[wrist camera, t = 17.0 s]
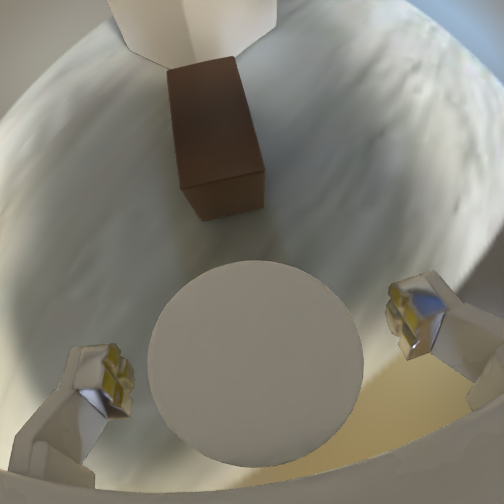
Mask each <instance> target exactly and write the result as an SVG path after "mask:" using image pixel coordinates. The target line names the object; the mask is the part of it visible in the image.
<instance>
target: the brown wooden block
mask: <svg viewBox="0 0 504 504" xmlns="http://www.w3.org/2000/svg"><path fill="white" fill-rule="evenodd" d="M167 83H168V93H169V103H170V112H171V121H172V130H173V139H174V147H175V154H176V162H177V169H178V177H179V184H180V189H181V191H182V192H183V194H184V196H185V197H186V199H187V200H188V202H189V203H190V205H191V207H192V208H193V210H194V211H195V213H196V214H197V216H198V217H199V219H200V221H206V220H210V219H215V218H219V217H224V216H228V215H233V214H237V213H242V212H247V211H251V210H256V209H261V208H264V201H265V166H264V162H263V159H262V155H261V151H260V147H259V144H258V140H257V136H256V132H255V129H254V125H253V121H252V118H251V114H250V111H249V107H248V103H247V100H246V96H245V93H244V89H243V86H242V82H241V79H240V75H239V72H238V68H237V65H236V61H235V58H234V56H229V57H223V58H218V59H213V60H208V61H204V62H199V63H195V64H191V65H187V66H182V67H179V68H175V69H171V70H168V71H167Z"/></svg>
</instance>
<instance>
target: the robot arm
mask: <svg viewBox="0 0 504 504" xmlns="http://www.w3.org/2000/svg"><path fill="white" fill-rule="evenodd" d="M388 295H389V296H390V298H391V299H390V300H389V301H388V303H387V304H386V310H385V315H386V321H387V324H388V327H389V329H390V331H391V333H392V334H394V335H396V336H398V337H400V338H399V342H398V345H399V347H400V349H401V351H402V352H403V354H404V356H405V358H406V360H411V359H413V358H416V357H419V356H422V355H425V354H427V353H430V352H431V354H432V355H433V356H435V357H436V358H438V359H439V360H441V361H442V362H444V363H445V364H447V365H448V366H450V367H451V368H453V369H454V370H455V371H457V372H459V373H460V374H461V375H463V376H464V377H466V378H467V379H469V380H470V381H472V382H473V383H474V385H473V386H472V388H471V389H470V390H469V392H468V393H467V396H466V401H467V403H468V404H469V406H470V408H471V410H472V412H470V413H469V414H467V415H465V416H463V417H461V418H459V419H458V420H456V421H454V422H452V423H450V424H448V425H446V426H444V427H442V428H440V429H438V430H436V431H434V432H432V433H429V434H427V435H425V436H423V437H421V438H418V439H416V440H414V441H412V442H409V443H407V444H404V445H402V446H400V447H397V448H395V449H392V450H389V451H387V452H384V453H381V454H379V455H376V456H373V457H370V458H367V459H364V460H361V461H358V462H355V463H352V464H349V465H346V466H343V467H339V468H335V469H332V470H328V471H325V472H321V473H317V474H313V475H309V476H304V477H301V478H295V479H291V480H286V481H281V482H275V483H269V484H264V485H257V486H250V487H244V488H235V489H226V490H215V491H202V492H179V493H147V492H125V491H112V490H102V489H95V474H94V472H93V471H91V470H90V469H88V468H86V467H85V466H83V465H82V464H83V462H84V461H85V459H86V457H87V456H88V454H89V452H90V451H91V449H92V447H93V446H94V444H95V442H96V441H97V439H98V437H99V436H100V434H101V432H102V431H103V429H104V428H105V426H106V424H107V423H108V420H113V419H128V418H131V415H132V405H133V399H132V398H131V396H130V395H129V394H130V393H131V392H132V390H133V389H134V387H135V376H134V370H133V368H132V365H131V364H130V362H129V361H128V359H126V358H124V357H122V356H120V354H121V350H120V348H119V347H118V346H117V344H115V343H109V344H99V345H89V346H82V347H73V348H72V349H71V350H70V352H69V355H68V358H67V361H66V364H65V368H64V371H63V375H62V378H61V382H60V385H59V389H58V390H54V391H53V392H52V393H51V395H50V396H49V397H48V398H47V399H46V400H45V401H44V403H43V404H42V405H41V406H40V407H39V408H38V409H37V411H36V412H35V413H34V414H33V415H32V416H31V418H30V419H29V420H28V421H27V422H26V424H25V425H24V426H23V427H22V428H21V429H20V431H19V432H18V433H17V434H16V435H15V438H14V443H13V447H12V452H11V456H10V461H9V467H8V471H5V470H2V469H0V504H504V319H502V318H499V317H497V316H495V315H493V314H491V313H489V312H486V311H484V310H482V309H480V308H478V307H475V306H473V305H471V304H469V303H465V304H463V303H462V302H461V301H460V299H459V298H458V297H457V296H456V294H455V293H454V292H453V291H452V290H451V288H450V287H449V286H448V285H447V284H446V282H445V281H444V280H443V279H442V278H441V276H440V275H439V274H438V273H437V272H435V271H433V270H432V271H429V272H426V273H423V274H420V275H416V276H413V277H410V278H407V279H404V280H400V281H397V282H394V283H391V284H390V286H389V289H388Z"/></svg>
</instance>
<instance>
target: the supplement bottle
mask: <svg viewBox="0 0 504 504" xmlns="http://www.w3.org/2000/svg"><path fill="white" fill-rule="evenodd" d="M363 368H364V360H363V350H362V344H361V339H360V336H359V333H358V330H357V327H356V325H355V323H354V320H353V318H352V316H351V315H350V313H349V311H348V310H347V308H346V307H345V305H344V304H343V303H342V301H341V300H340V299H339V297H338V296H337V295H336V294H335V293H334V292H333V291H332V290H330V289H329V288H328V287H327V286H326V285H324V284H323V283H322V282H321V281H319V280H318V279H316V278H315V277H313V276H311V275H310V274H308V273H306V272H304V271H302V270H300V269H297V268H295V267H292V266H289V265H285V264H282V263H277V262H271V261H255V260H249V261H239V262H234V263H230V264H226V265H222V266H219V267H216V268H213V269H211V270H209V271H207V272H205V273H203V274H201V275H199V276H198V277H196V278H195V279H193V280H192V281H190V282H189V283H187V284H186V285H185V286H184V287H182V288H181V289H180V290H179V291H178V292H177V293H176V294H175V295H174V296H173V297H172V298H171V300H170V301H169V302H168V304H167V305H166V306H165V308H164V309H163V311H162V313H161V314H160V316H159V318H158V320H157V322H156V325H155V327H154V330H153V332H152V335H151V339H150V343H149V348H148V357H147V372H148V379H149V385H150V389H151V393H152V396H153V398H154V401H155V403H156V406H157V408H158V409H159V411H160V413H161V415H162V417H163V418H164V420H165V421H166V423H167V424H168V425H169V427H170V428H171V429H172V431H173V432H174V433H175V434H176V435H177V436H178V437H179V438H181V439H182V440H183V441H184V442H185V443H186V444H187V445H189V446H190V447H191V448H193V449H194V450H196V451H198V452H199V453H201V454H203V455H204V456H207V457H209V458H211V459H214V460H217V461H219V462H222V463H226V464H230V465H234V466H240V467H251V468H255V467H270V466H277V465H281V464H285V463H288V462H291V461H294V460H297V459H299V458H301V457H304V456H306V455H308V454H309V453H311V452H313V451H314V450H316V449H318V448H319V447H320V446H322V445H323V444H325V443H326V442H327V441H328V440H329V439H330V438H331V437H332V436H333V435H334V434H335V433H336V432H337V431H338V430H339V429H340V428H341V426H342V425H343V424H344V423H345V421H346V420H347V418H348V416H349V415H350V414H351V412H352V410H353V408H354V405H355V403H356V401H357V398H358V395H359V392H360V389H361V384H362V379H363Z"/></svg>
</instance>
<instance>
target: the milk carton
mask: <svg viewBox="0 0 504 504" xmlns="http://www.w3.org/2000/svg"><path fill="white" fill-rule="evenodd" d="M106 1H107V3H108V5H109V8H110V10H111V12H112V14H113V16H114V18H115V21H116V23H117V25H118V27H119V29H120V31H121V34H122V36H123V38H124V40H125V42H126V44H127V46H128V48H129V50H130V51H132V52H134V53H136V54H138V55H141V56H143V57H145V58H147V59H149V60H152V61H154V62H156V63H158V64H160V65H162V66H164V67H166V68H168V69H170V70H171V69H175V68H179V67H182V66H187V65H191V64H195V63H199V62H204V61H208V60H213V59H218V58H223V57H229V56H234V58H235V57H236V56H237V55H239V54H240V53H241V52H242V51H244V50H245V49H246V48H247V47H249V46H250V45H251V44H253V43H254V42H255V41H257V40H258V39H259V38H261V37H262V36H263V35H265V34H266V33H268V32H269V31H270V30H272V29H273V28H274V27H276V21H277V0H106Z"/></svg>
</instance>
